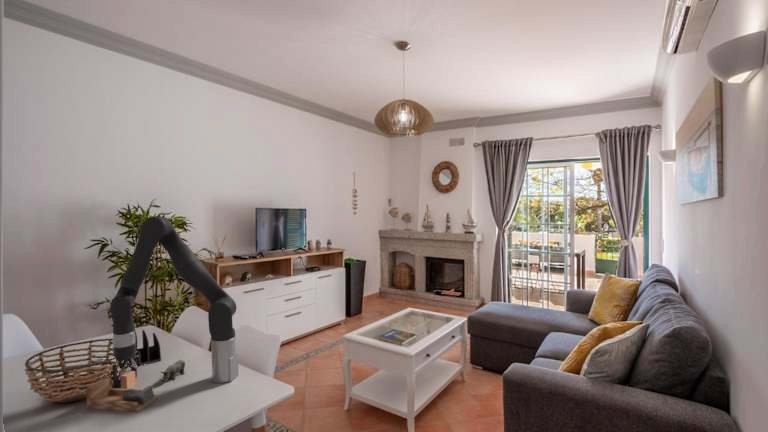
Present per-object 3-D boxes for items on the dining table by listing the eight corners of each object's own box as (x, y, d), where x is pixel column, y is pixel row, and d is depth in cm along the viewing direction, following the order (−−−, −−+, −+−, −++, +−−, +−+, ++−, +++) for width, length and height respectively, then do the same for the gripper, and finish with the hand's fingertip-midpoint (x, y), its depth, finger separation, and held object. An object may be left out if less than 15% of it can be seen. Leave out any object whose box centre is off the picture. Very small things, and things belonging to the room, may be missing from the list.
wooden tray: (156, 398, 149) (155, 378, 148) (138, 411, 140) (137, 390, 139) (107, 395, 151) (106, 375, 151) (87, 408, 142) (86, 387, 142)
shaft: (152, 397, 146) (152, 386, 146) (144, 404, 142) (143, 392, 142) (131, 396, 147) (131, 384, 147) (122, 402, 143) (122, 390, 143)
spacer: (135, 384, 160) (135, 371, 160) (127, 390, 155) (126, 376, 155) (125, 383, 160) (124, 370, 160) (116, 389, 156) (116, 375, 156)
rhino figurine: (155, 386, 158) (155, 371, 158) (179, 370, 172) (179, 357, 171) (164, 387, 158) (164, 372, 157) (188, 371, 171) (187, 358, 171)
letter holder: (135, 367, 176) (134, 336, 175) (131, 352, 191) (130, 324, 191) (161, 361, 182) (160, 331, 181) (155, 347, 197) (154, 319, 196)
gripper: (118, 350, 149) (120, 393, 150) (146, 336, 163) (147, 375, 165) (100, 349, 150) (102, 391, 151) (129, 336, 164) (130, 374, 165)
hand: (126, 383), depth 158 cm, fingers open, 7 cm apart
